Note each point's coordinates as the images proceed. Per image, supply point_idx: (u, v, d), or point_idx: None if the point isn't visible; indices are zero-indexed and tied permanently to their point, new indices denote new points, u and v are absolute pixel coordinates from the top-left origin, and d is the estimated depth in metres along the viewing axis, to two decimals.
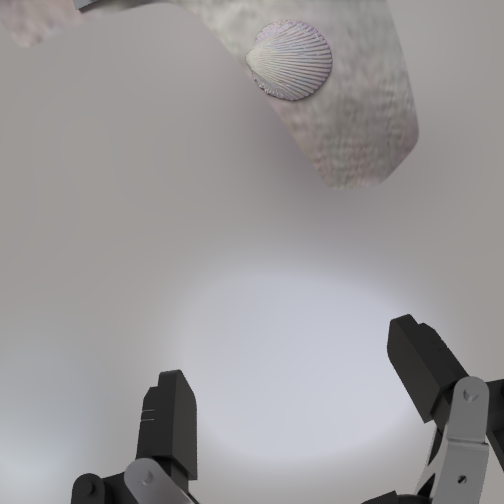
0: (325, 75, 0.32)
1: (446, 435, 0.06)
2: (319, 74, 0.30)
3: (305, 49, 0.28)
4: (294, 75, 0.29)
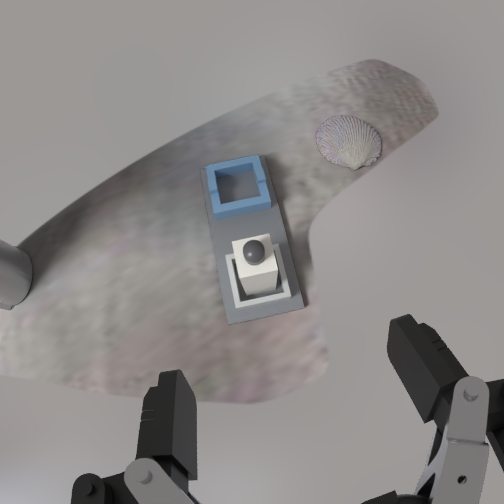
0: (354, 117, 0.43)
1: (446, 435, 0.06)
2: (355, 118, 0.42)
3: (338, 126, 0.41)
4: (361, 130, 0.40)
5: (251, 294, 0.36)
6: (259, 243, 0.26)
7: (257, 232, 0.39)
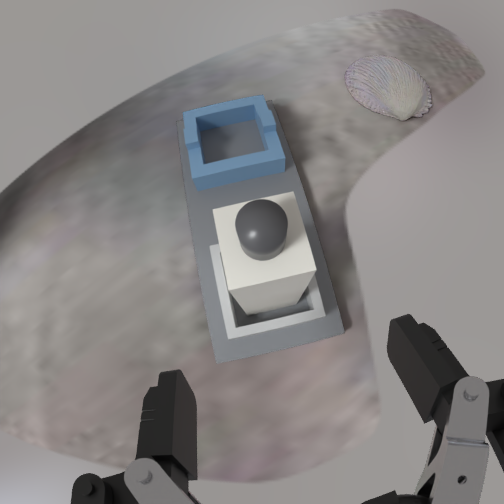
0: None
1: (446, 435, 0.06)
2: None
3: (376, 63, 0.25)
4: (407, 69, 0.24)
5: (255, 313, 0.21)
6: (275, 207, 0.11)
7: None
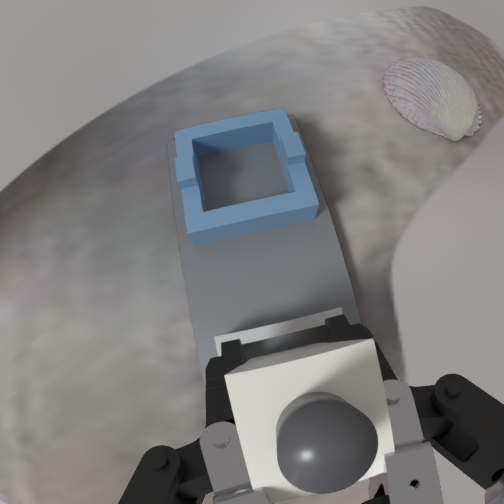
0: None
1: None
2: None
3: (422, 67, 0.19)
4: (459, 77, 0.18)
5: None
6: (357, 420, 0.05)
7: (287, 274, 0.17)
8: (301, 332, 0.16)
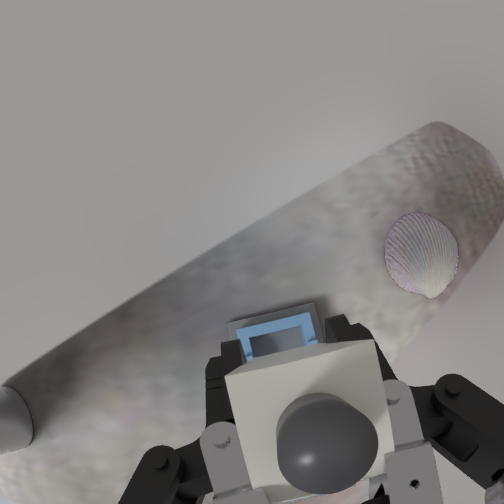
0: (429, 217, 0.32)
1: None
2: (433, 223, 0.31)
3: (417, 242, 0.30)
4: (444, 248, 0.29)
5: None
6: (357, 421, 0.05)
7: None
8: None
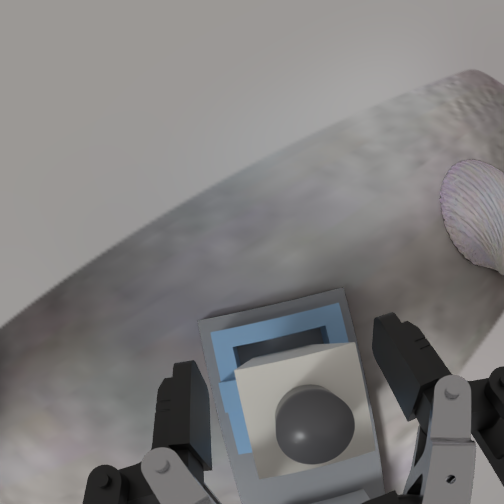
0: (490, 165, 0.20)
1: (430, 436, 0.06)
2: (498, 171, 0.19)
3: (486, 191, 0.18)
4: None
5: None
6: (338, 405, 0.06)
7: (327, 466, 0.15)
8: None
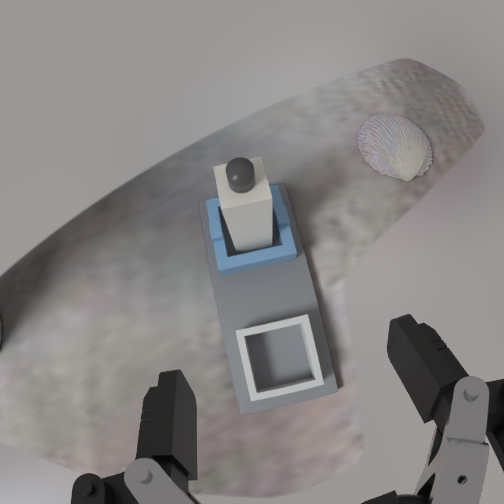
0: (398, 115, 0.33)
1: (446, 435, 0.06)
2: (401, 117, 0.32)
3: (386, 127, 0.31)
4: (413, 132, 0.30)
5: (242, 250, 0.29)
6: (247, 161, 0.20)
7: (277, 294, 0.29)
8: (285, 328, 0.28)
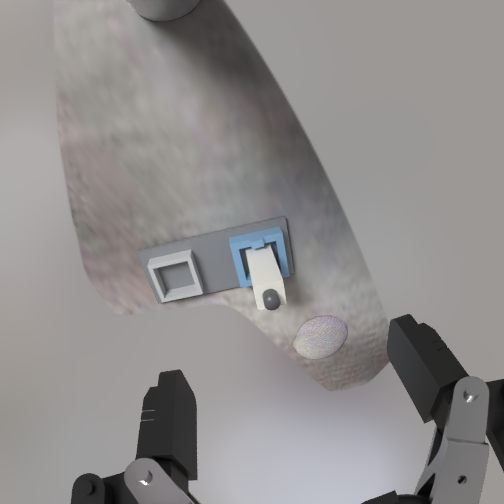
0: (342, 343, 0.54)
1: (446, 435, 0.06)
2: (338, 346, 0.53)
3: (329, 339, 0.51)
4: (322, 354, 0.52)
5: None
6: (277, 307, 0.34)
7: (216, 271, 0.45)
8: None
